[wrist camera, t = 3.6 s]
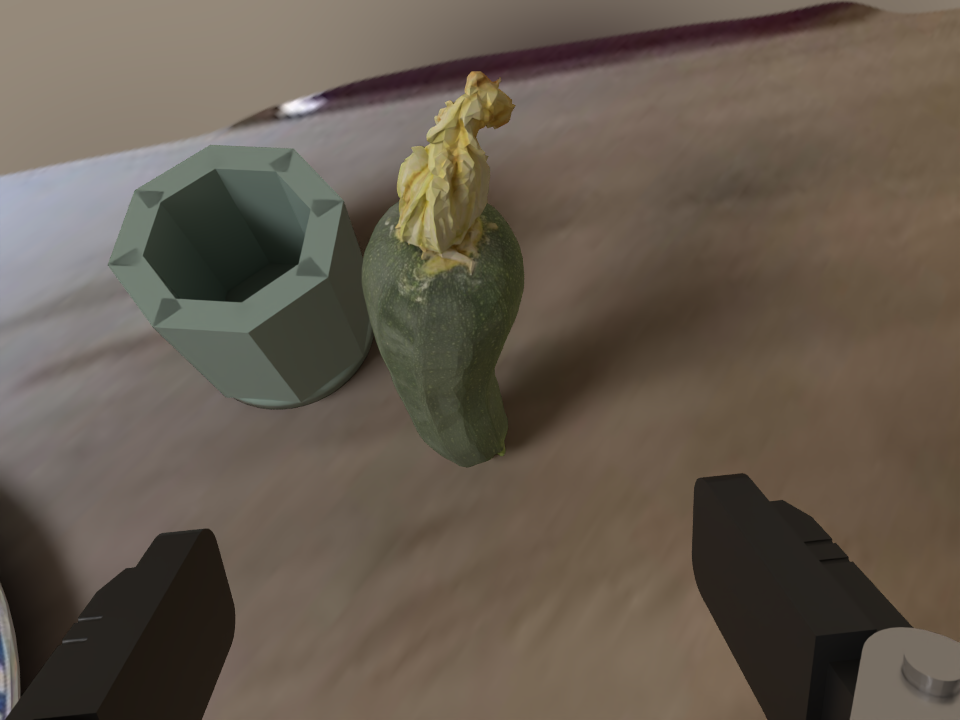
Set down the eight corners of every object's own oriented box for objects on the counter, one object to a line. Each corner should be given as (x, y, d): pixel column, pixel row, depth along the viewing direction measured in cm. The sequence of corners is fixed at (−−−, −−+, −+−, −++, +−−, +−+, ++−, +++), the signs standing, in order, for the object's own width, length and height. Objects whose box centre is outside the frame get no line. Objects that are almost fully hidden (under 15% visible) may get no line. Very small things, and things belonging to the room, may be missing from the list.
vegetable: (419, 488, 29) (287, 204, 11) (413, 397, 31) (290, 22, 13) (519, 477, 29) (555, 177, 11) (507, 387, 31) (520, -1, 13)
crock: (310, 225, 35) (261, 112, 28) (410, 334, 32) (384, 240, 25) (168, 320, 33) (74, 224, 26) (262, 446, 30) (186, 378, 23)
